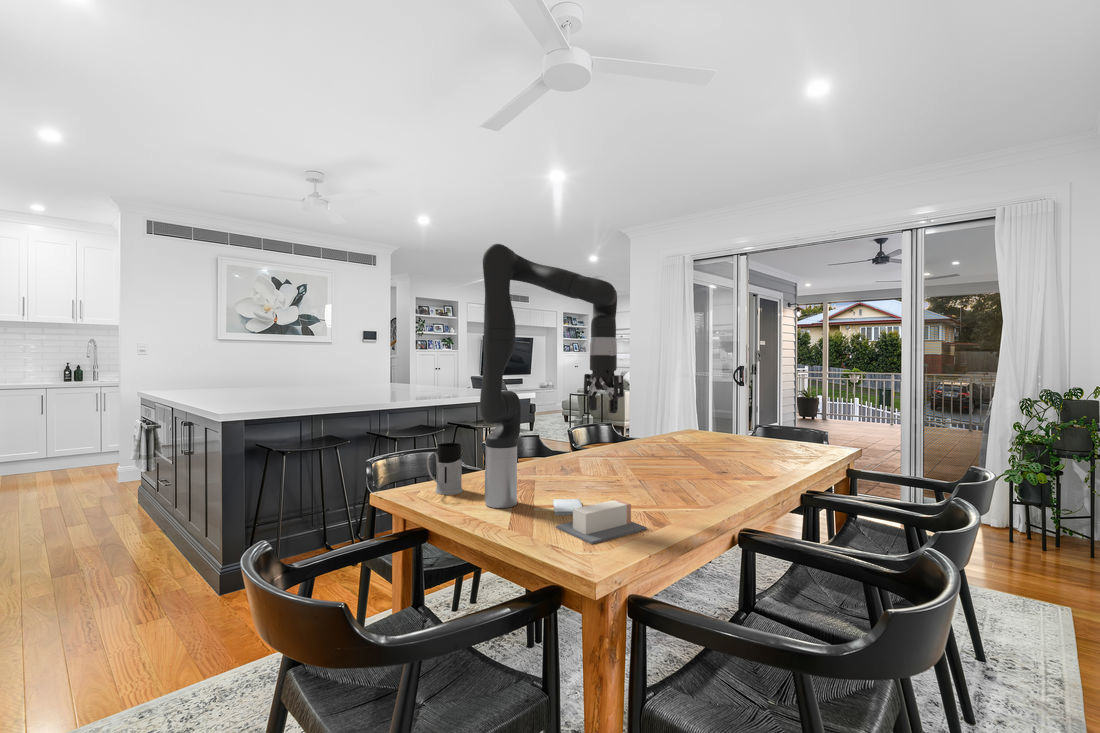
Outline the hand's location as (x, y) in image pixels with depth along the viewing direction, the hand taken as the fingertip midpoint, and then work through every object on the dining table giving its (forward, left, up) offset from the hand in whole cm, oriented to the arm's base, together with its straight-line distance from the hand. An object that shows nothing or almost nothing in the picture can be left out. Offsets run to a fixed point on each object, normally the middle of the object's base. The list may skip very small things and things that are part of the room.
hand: (602, 411), depth 143 cm
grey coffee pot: (-43, -29, -28) cm, 59 cm away
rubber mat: (+11, -10, -28) cm, 32 cm away
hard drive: (-7, -6, -29) cm, 31 cm away
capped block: (+11, -17, -25) cm, 32 cm away
